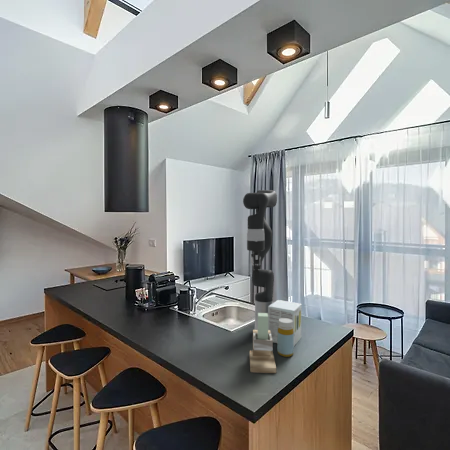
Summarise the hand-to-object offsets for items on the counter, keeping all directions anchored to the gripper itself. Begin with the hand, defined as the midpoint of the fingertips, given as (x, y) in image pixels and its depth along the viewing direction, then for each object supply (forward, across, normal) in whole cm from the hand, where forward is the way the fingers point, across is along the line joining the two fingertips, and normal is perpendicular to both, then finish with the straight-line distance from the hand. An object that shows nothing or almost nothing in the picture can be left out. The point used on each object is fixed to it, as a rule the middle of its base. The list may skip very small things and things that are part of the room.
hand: (255, 276), depth 124 cm
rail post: (+26, +8, +2) cm, 27 cm away
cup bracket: (+35, +7, +2) cm, 36 cm away
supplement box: (+36, -18, +16) cm, 43 cm away
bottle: (+36, -3, +13) cm, 38 cm away
